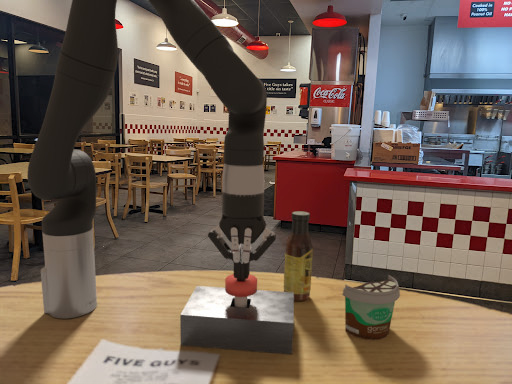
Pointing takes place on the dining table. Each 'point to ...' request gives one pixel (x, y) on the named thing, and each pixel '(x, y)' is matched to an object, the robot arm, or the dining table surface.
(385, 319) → the food container
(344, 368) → the dining table surface
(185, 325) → the console
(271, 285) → the dining table surface
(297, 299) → the sauce bottle
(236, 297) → the red button
